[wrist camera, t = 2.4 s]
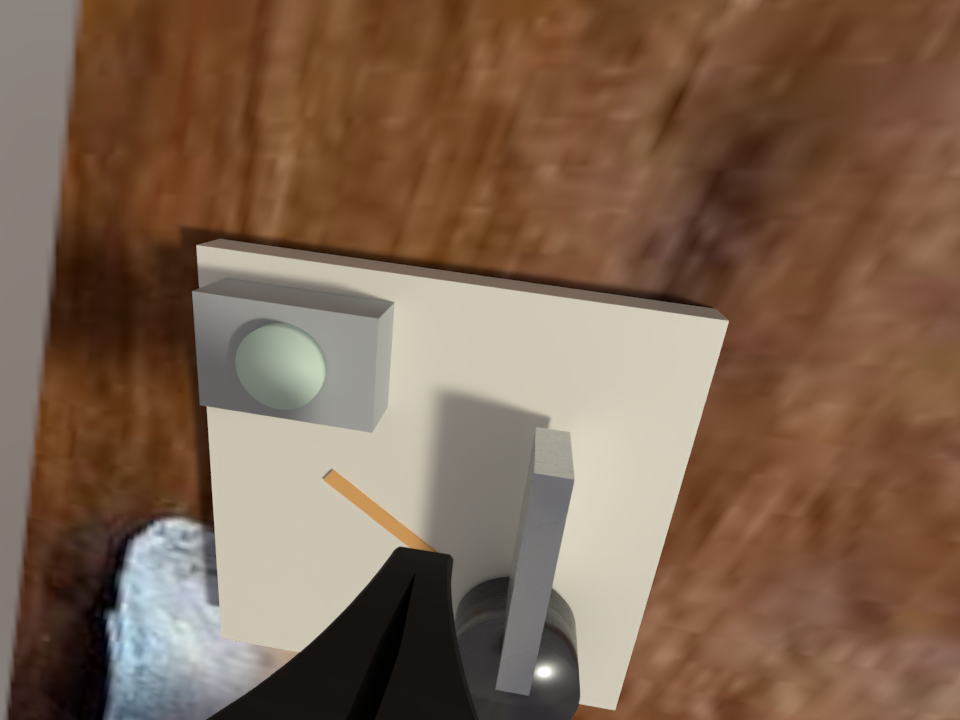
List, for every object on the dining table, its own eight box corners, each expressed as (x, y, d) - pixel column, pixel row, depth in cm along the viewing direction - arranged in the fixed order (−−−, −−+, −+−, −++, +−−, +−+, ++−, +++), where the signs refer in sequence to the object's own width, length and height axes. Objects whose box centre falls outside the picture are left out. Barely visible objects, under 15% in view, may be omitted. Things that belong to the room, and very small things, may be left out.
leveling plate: (611, 680, 26) (622, 768, 22) (238, 612, 27) (189, 686, 23) (716, 308, 19) (756, 345, 16) (219, 238, 21) (148, 258, 17)
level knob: (564, 679, 24) (567, 762, 21) (449, 658, 24) (435, 737, 21) (623, 433, 20) (639, 490, 16) (482, 412, 20) (471, 463, 17)
